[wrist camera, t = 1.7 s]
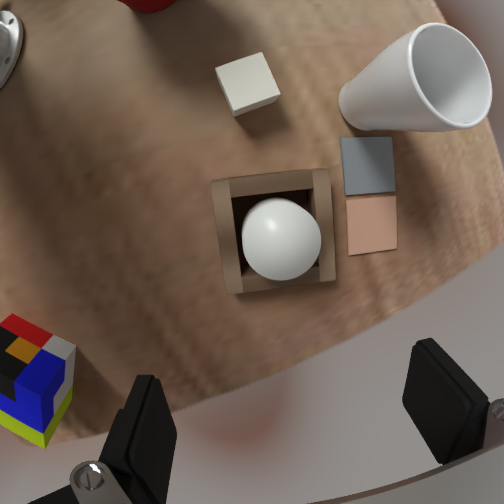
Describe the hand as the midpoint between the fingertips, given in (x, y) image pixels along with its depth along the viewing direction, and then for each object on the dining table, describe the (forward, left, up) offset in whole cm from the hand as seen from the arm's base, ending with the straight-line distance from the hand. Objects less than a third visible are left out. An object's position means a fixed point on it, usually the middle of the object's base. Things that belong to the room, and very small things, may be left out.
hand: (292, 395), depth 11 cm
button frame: (-1, +2, -21) cm, 21 cm away
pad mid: (-6, +12, -21) cm, 25 cm away
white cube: (-14, +1, -21) cm, 26 cm away
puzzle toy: (+12, -29, -22) cm, 38 cm away
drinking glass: (-12, +12, -21) cm, 27 cm away
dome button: (-1, +2, -19) cm, 19 cm away
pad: (0, +12, -21) cm, 24 cm away
